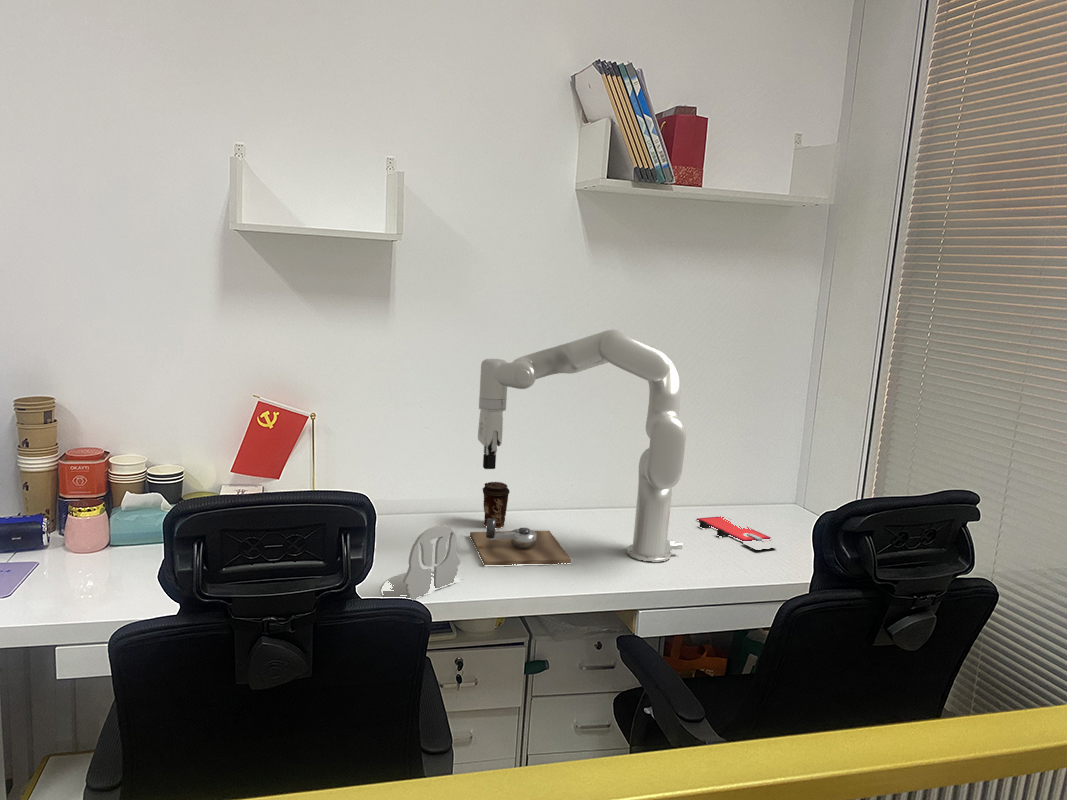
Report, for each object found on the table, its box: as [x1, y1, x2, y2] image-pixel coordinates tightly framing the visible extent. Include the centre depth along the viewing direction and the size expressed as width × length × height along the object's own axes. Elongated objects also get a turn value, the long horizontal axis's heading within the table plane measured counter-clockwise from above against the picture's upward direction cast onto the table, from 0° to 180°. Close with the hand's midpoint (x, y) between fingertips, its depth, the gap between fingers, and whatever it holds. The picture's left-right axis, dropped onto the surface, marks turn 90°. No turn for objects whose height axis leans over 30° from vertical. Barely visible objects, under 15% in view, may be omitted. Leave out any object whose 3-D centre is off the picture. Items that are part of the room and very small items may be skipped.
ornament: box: [382, 525, 461, 600], centre depth 196 cm, size 22×13×17 cm, turn 142°
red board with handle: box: [696, 515, 772, 552], centre depth 252 cm, size 30×3×15 cm
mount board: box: [469, 530, 572, 566], centre depth 225 cm, size 24×23×2 cm
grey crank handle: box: [485, 518, 537, 547], centre depth 222 cm, size 15×7×8 cm, turn 112°
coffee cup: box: [481, 481, 511, 529], centre depth 243 cm, size 9×8×13 cm
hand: (489, 468), depth 223 cm, fingers closed
